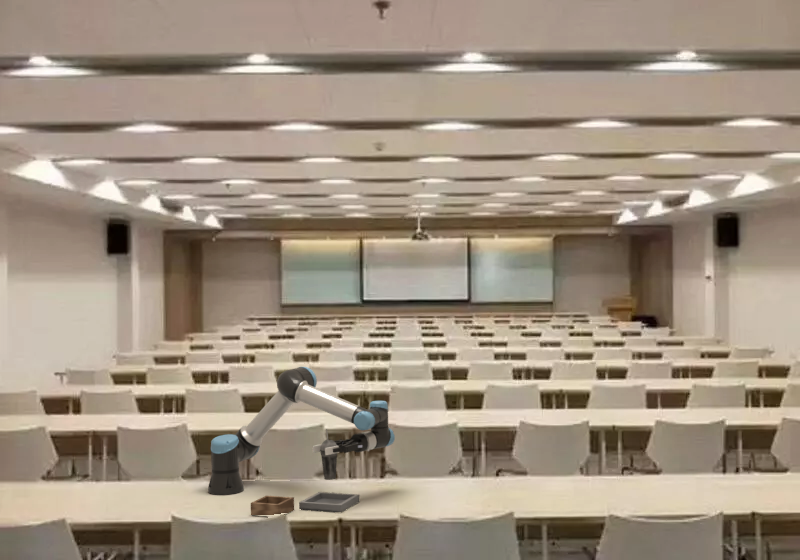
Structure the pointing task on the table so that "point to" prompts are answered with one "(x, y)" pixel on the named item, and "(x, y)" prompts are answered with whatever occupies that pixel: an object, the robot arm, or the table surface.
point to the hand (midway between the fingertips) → (319, 450)
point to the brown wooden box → (272, 505)
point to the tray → (329, 502)
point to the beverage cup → (328, 460)
